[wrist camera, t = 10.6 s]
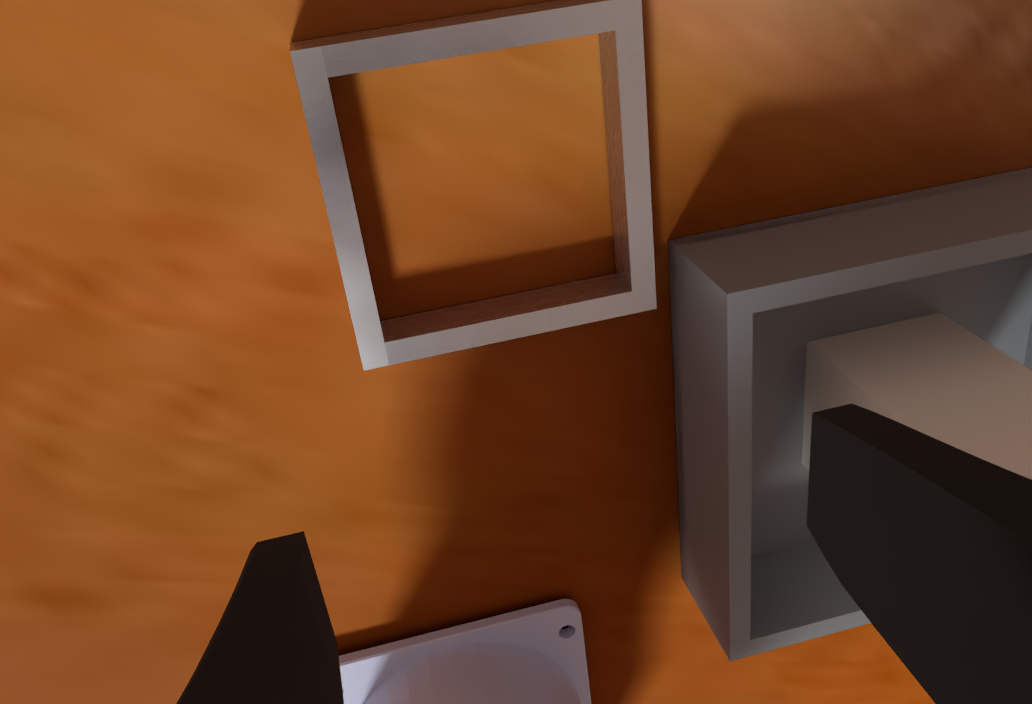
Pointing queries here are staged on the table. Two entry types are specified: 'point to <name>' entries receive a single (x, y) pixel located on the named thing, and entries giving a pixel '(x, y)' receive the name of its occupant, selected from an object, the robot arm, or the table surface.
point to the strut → (927, 386)
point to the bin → (782, 366)
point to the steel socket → (632, 289)
